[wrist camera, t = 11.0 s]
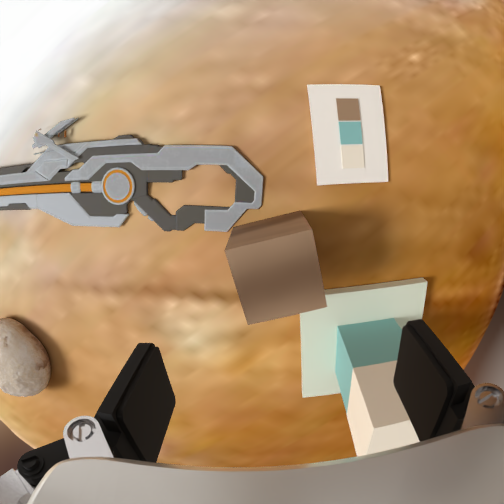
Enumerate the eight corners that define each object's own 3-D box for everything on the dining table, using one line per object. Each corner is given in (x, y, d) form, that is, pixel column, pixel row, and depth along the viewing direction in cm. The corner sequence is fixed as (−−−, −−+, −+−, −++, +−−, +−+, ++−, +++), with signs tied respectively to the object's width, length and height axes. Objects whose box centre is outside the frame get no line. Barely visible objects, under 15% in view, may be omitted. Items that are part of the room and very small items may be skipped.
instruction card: (307, 85, 21) (307, 84, 20) (379, 85, 20) (380, 85, 20) (317, 185, 23) (317, 185, 23) (387, 181, 23) (388, 181, 23)
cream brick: (352, 367, 20) (373, 428, 15) (418, 355, 20) (450, 407, 14) (346, 415, 22) (360, 471, 16) (405, 403, 22) (428, 453, 16)
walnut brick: (233, 227, 25) (224, 250, 19) (300, 210, 24) (312, 229, 18) (251, 287, 26) (248, 324, 21) (313, 272, 26) (327, 306, 20)
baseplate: (298, 292, 26) (300, 297, 25) (422, 277, 25) (427, 281, 25) (301, 391, 30) (302, 397, 29) (405, 374, 29) (408, 379, 28)
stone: (43, 305, 34) (-7, 299, 26) (67, 370, 30) (12, 373, 23) (16, 351, 36) (-25, 350, 28) (36, 408, 32) (-7, 413, 24)
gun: (259, 231, 26) (266, 111, 23) (259, 239, 24) (267, 109, 21) (-40, 222, 26) (-45, 148, 22) (-50, 227, 24) (-57, 150, 20)
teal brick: (337, 325, 26) (353, 368, 20) (393, 317, 26) (418, 355, 20) (335, 371, 28) (347, 415, 22) (386, 363, 27) (406, 403, 22)
